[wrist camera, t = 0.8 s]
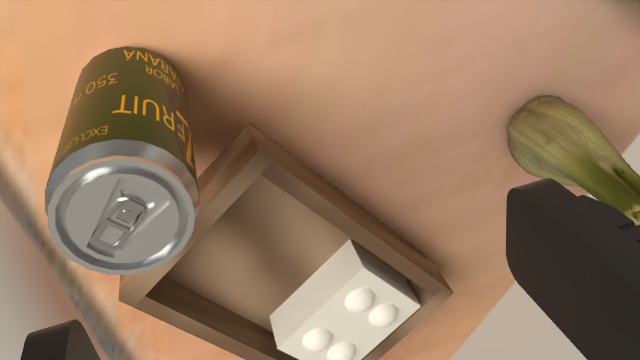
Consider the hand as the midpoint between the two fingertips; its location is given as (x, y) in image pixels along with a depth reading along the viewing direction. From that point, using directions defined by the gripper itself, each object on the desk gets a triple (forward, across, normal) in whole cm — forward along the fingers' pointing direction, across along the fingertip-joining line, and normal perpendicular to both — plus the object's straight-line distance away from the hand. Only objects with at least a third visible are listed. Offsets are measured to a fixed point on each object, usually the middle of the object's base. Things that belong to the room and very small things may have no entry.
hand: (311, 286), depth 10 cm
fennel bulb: (+22, -19, +12) cm, 31 cm away
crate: (+22, -2, +17) cm, 28 cm away
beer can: (+22, +4, +3) cm, 23 cm away
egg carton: (+22, -4, +21) cm, 30 cm away
